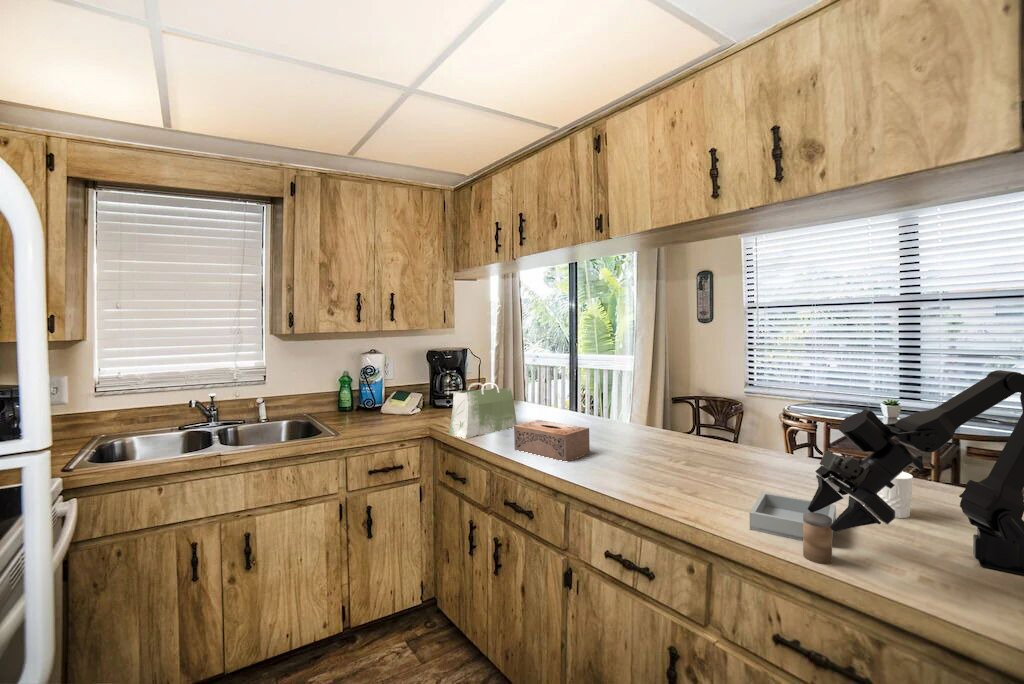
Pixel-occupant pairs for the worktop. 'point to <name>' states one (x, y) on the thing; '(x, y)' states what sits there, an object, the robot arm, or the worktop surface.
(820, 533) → the spice jar
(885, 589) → the worktop surface
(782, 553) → the worktop surface
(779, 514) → the bin
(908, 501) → the white cup
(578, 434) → the tissue box cover
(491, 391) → the grocery bag
